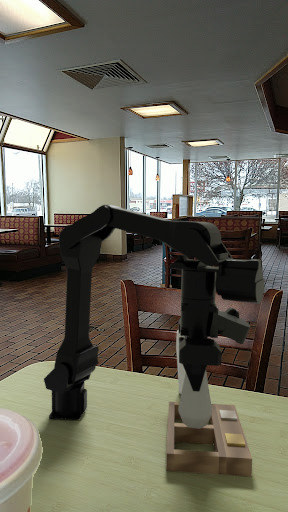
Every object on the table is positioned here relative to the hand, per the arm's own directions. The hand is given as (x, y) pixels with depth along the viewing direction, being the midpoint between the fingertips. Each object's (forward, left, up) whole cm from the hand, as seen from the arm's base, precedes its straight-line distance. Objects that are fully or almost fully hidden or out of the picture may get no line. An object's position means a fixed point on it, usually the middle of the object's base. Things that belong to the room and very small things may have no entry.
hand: (195, 386), depth 65 cm
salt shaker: (0, 0, -7) cm, 7 cm away
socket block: (+2, +4, -12) cm, 13 cm away
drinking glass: (0, +24, -13) cm, 27 cm away
